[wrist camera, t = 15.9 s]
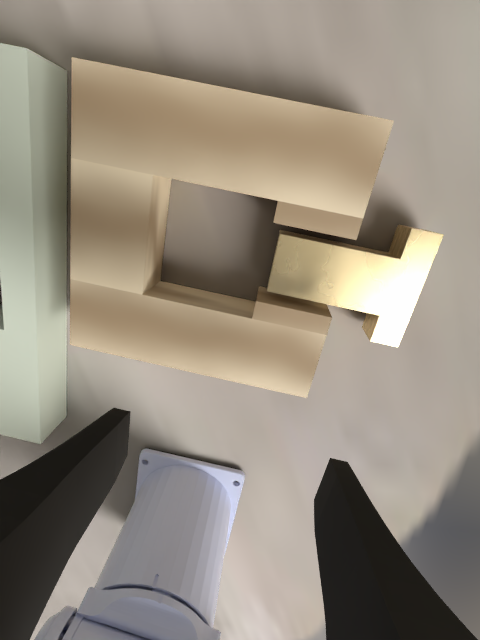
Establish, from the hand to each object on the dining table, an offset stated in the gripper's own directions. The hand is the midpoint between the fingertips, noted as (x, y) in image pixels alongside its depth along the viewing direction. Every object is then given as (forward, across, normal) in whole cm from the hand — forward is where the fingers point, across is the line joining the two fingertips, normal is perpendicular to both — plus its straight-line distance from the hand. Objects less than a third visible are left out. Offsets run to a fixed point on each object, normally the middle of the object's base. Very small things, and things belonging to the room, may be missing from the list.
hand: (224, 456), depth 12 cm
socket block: (+10, +3, -5) cm, 12 cm away
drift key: (+10, -4, -5) cm, 12 cm away
